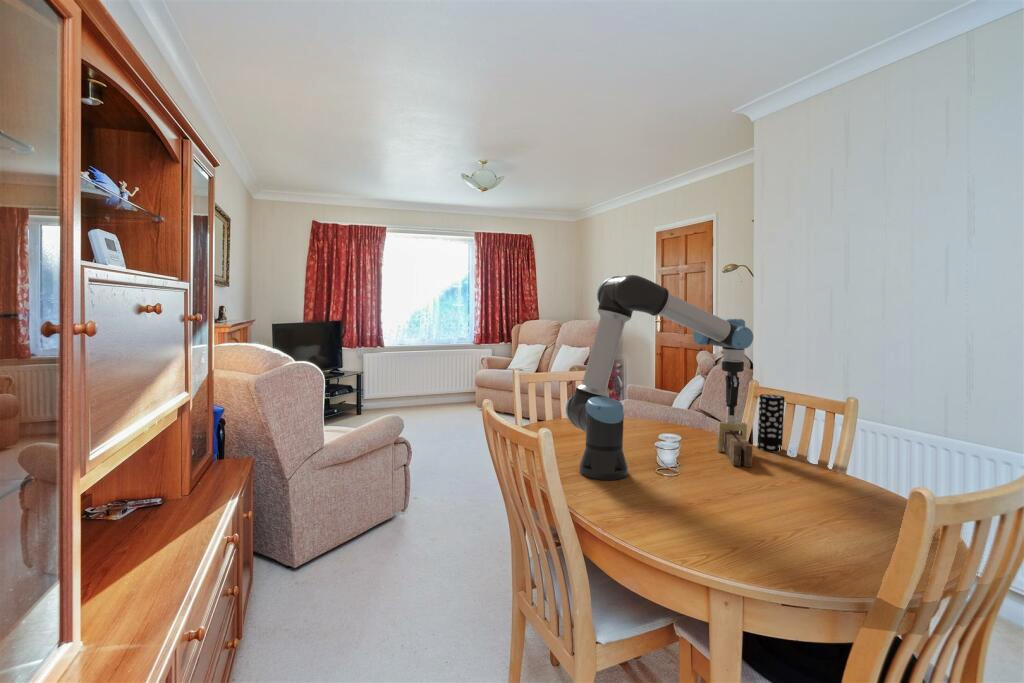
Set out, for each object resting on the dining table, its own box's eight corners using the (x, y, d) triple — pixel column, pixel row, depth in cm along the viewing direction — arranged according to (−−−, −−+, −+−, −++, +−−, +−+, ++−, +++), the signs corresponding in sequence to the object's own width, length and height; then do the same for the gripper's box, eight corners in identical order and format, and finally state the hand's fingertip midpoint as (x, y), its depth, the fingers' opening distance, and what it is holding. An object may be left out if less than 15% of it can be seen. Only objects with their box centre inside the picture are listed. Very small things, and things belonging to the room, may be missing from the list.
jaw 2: (730, 449, 190) (731, 430, 190) (736, 449, 190) (737, 431, 189) (744, 466, 170) (745, 445, 170) (751, 466, 170) (752, 446, 170)
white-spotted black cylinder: (752, 447, 194) (754, 395, 193) (767, 444, 198) (769, 393, 196) (771, 453, 187) (774, 399, 185) (787, 450, 190) (789, 397, 189)
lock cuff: (717, 449, 190) (718, 421, 190) (743, 451, 188) (744, 422, 188) (718, 451, 187) (719, 423, 187) (745, 453, 186) (746, 424, 185)
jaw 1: (723, 449, 191) (723, 430, 190) (729, 449, 190) (730, 430, 190) (733, 465, 171) (734, 444, 171) (740, 466, 171) (741, 445, 170)
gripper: (719, 358, 197) (716, 418, 198) (725, 362, 184) (723, 426, 186) (740, 358, 195) (737, 420, 197) (747, 362, 182) (745, 428, 184)
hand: (730, 423), depth 191 cm, fingers closed
